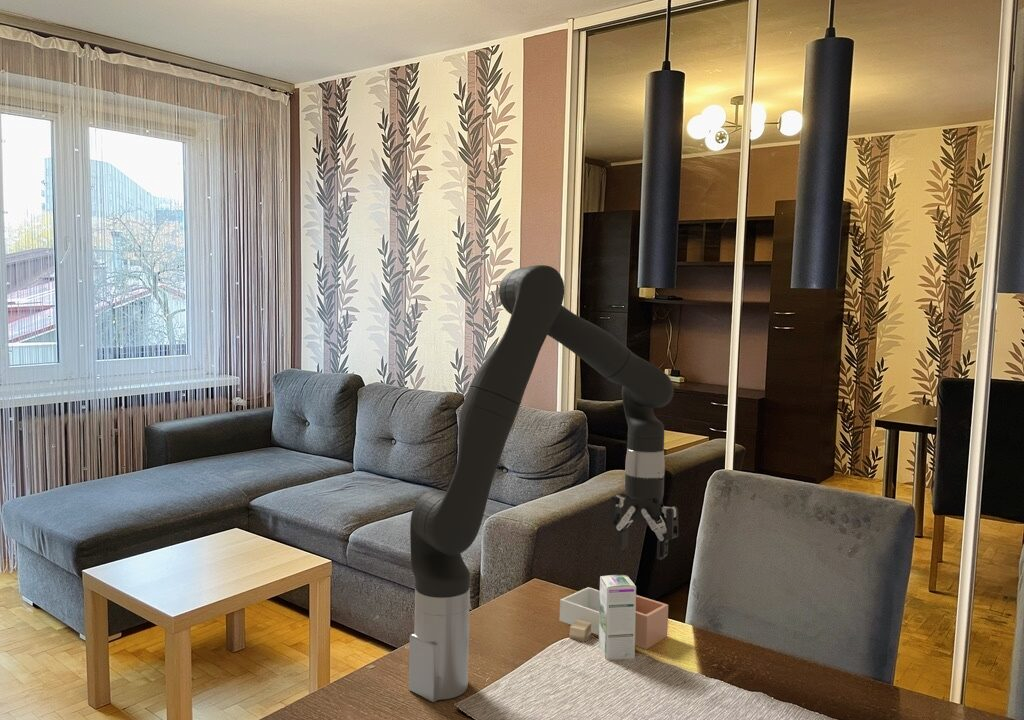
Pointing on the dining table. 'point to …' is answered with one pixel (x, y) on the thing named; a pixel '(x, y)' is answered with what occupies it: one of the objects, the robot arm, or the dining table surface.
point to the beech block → (580, 630)
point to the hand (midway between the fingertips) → (641, 553)
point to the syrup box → (617, 617)
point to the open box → (650, 622)
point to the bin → (581, 608)
